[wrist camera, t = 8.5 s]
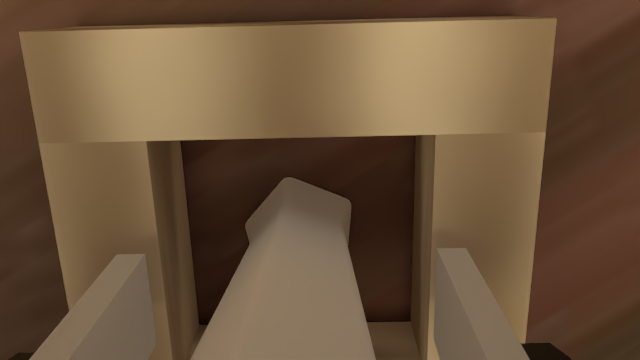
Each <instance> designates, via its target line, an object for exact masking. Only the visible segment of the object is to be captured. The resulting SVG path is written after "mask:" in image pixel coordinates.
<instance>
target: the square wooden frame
mask: <svg viewBox="0 0 640 360" xmlns="http://www.w3.org/2000/svg"><path fill="white" fill-rule="evenodd" d="M556 22H557V18H546V17H530V16H515V15H511V16H472V17H433V18H394V19H356V20H317V21H278V22H240V23H201V24H162V25H124V26H85V27H67V28H57V29H46V30H35V31H24V32H19V36H20V42H21V48H22V53H23V59H24V64H25V70H26V75H27V81H28V86H29V92H30V97H31V103H32V109H33V114H34V120H35V125H36V131H37V136H38V142H39V147H40V153H41V158H42V164H43V170H44V175H45V181H46V186H47V192H48V197H49V203H50V208H51V214H52V219H53V225H54V231H55V236H56V242H57V247H58V253H59V258H60V264H61V269H62V275H63V280H64V286H65V292H66V297H67V303H68V308H69V311H70V310H71V309H72V308H73V306H74V305H75V304H76V303H77V302H78V300H79V299H80V298H81V297H82V296H83V294H84V293H85V292H86V291H87V290H88V288H89V287H90V286H91V285H92V284H93V282H94V281H95V280H96V279H97V278H98V276H99V275H100V274H101V273H102V272H103V270H104V269H105V268H106V267H107V266H108V264H109V263H110V262H111V261H112V260H113V258H114V257H115V256H116V255H117V254H145V256H146V263H147V271H148V279H149V287H150V294H151V302H152V310H153V317H154V325H155V333H156V341H157V343H156V345H155V347H154V349H153V351H152V353H151V355H150V357H149V359H148V360H190V359H191V357H192V355H193V353H194V351H195V349H196V347H197V346H198V344H199V342H200V340H201V338H202V336H203V334H204V332H205V330H206V328H207V326H208V325H199V318H198V308H197V298H196V288H195V279H194V269H193V259H192V249H191V239H190V230H189V220H188V210H187V200H186V191H185V181H184V171H183V161H182V152H181V142H180V140H217V139H262V138H308V137H353V136H398V135H416V139H415V176H414V214H413V251H412V289H411V322H367V326H368V330H369V334H370V338H371V342H372V346H373V350H374V354H375V358H376V360H440V358H439V355H438V351H437V348H436V345H435V342H434V339H433V334H434V309H435V285H436V260H437V248H466V249H467V251H468V252H469V254H470V256H471V258H472V259H473V261H474V263H475V265H476V266H477V268H478V270H479V272H480V273H481V275H482V277H483V279H484V280H485V282H486V284H487V286H488V287H489V289H490V291H491V293H492V294H493V296H494V298H495V300H496V301H497V303H498V305H499V307H500V308H501V310H502V312H503V314H504V315H505V317H506V319H507V321H508V322H509V324H510V326H511V328H512V329H513V331H514V333H515V335H516V336H517V338H518V340H519V342H520V343H525V340H526V329H527V319H528V309H529V299H530V288H531V278H532V268H533V258H534V247H535V237H536V227H537V217H538V206H539V196H540V186H541V176H542V165H543V155H544V145H545V135H546V124H547V114H548V104H549V94H550V83H551V73H552V63H553V53H554V42H555V32H556Z"/></svg>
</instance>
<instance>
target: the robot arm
mask: <svg viewBox="0 0 640 360" xmlns="http://www.w3.org/2000/svg"><path fill="white" fill-rule="evenodd" d="M433 339H434V342H435V345H436V348H437V351H438V355H439V358H440V360H571V359H570V357H568V356H567V355H565V354H564V353H563V352H561V351H560V350H559V349H557V348H556V347H555V346H553V345H552V344H550V343H520V342H519V340H518V338H517V336H516V335H515V333H514V331H513V329H512V328H511V326H510V324H509V322H508V321H507V319H506V317H505V315H504V314H503V312H502V310H501V308H500V307H499V305H498V303H497V301H496V300H495V298H494V296H493V294H492V293H491V291H490V289H489V287H488V286H487V284H486V282H485V280H484V279H483V277H482V275H481V273H480V272H479V270H478V268H477V266H476V265H475V263H474V261H473V259H472V258H471V256H470V254H469V252H468V251H467V249H466V248H437V260H436V285H435V309H434V334H433ZM156 343H157V341H156V333H155V325H154V317H153V310H152V302H151V294H150V287H149V279H148V271H147V263H146V256H145V254H117V255H116V256H115V257H114V258H113V260H112V261H111V262H110V263H109V264H108V266H107V267H106V268H105V269H104V270H103V272H102V273H101V274H100V275H99V276H98V278H97V279H96V280H95V281H94V282H93V284H92V285H91V286H90V287H89V288H88V290H87V291H86V292H85V293H84V294H83V296H82V297H81V298H80V299H79V300H78V302H77V303H76V304H75V305H74V306H73V308H72V309H71V310H70V311H69V312H68V314H67V315H66V316H65V317H64V318H63V320H62V321H61V322H60V323H59V324H58V326H57V327H56V328H55V329H54V330H53V332H52V333H51V334H50V335H49V336H48V338H47V339H46V340H45V341H44V342H43V344H42V345H41V346H40V347H39V348H38V350H37V351H36V352H35V353H18V354H16V355H15V356H13V357H12V358H10V359H9V360H148V359H149V357H150V355H151V353H152V351H153V349H154V347H155V345H156Z"/></svg>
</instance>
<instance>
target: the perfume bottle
mask: <svg viewBox="0 0 640 360" xmlns="http://www.w3.org/2000/svg"><path fill="white" fill-rule="evenodd" d="M351 208H352V207H351V202H350V201H349V200H348V199H346V198H344V197H342V196H339V195H337V194H334V193H331V192H329V191H326V190H324V189H321V188H318V187H316V186H313V185H311V184H308V183H306V182H303V181H300V180H298V179H295V178H292V177H286V178H284V179H283V180H282V181H281V182H280V183H279V184H278V185H277V186H276V188H275V189H274V190H273V191H272V192H271V193H270V195H269V196H268V197H267V198H266V199H265V200H264V202H263V203H262V204H261V205H260V206H259V207H258V209H257V210H256V211H255V212H254V213H253V214H252V216H251V217H250V218H249V219H248V220H247V222H246V224H245V229H246V233H247V236H248V239H249V243H250V244H249V246H248V248H247V250H246V252H245V254H244V256H243V258H242V260H241V262H240V264H239V266H238V268H237V270H236V272H235V274H234V276H233V278H232V279H231V281H230V283H229V285H228V287H227V289H226V291H225V293H224V295H223V297H222V299H221V301H220V303H219V305H218V307H217V309H216V311H215V312H214V314H213V316H212V318H211V320H210V322H209V324H208V326H207V328H206V330H205V332H204V334H203V336H202V338H201V340H200V342H199V344H198V346H197V347H196V349H195V351H194V353H193V355H192V357H191V359H190V360H376V358H375V354H374V350H373V346H372V342H371V338H370V334H369V330H368V326H367V322H366V318H365V314H364V310H363V306H362V302H361V298H360V294H359V290H358V286H357V282H356V278H355V274H354V270H353V266H352V262H351V258H350V254H349V250H348V241H349V230H350V219H351Z"/></svg>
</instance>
